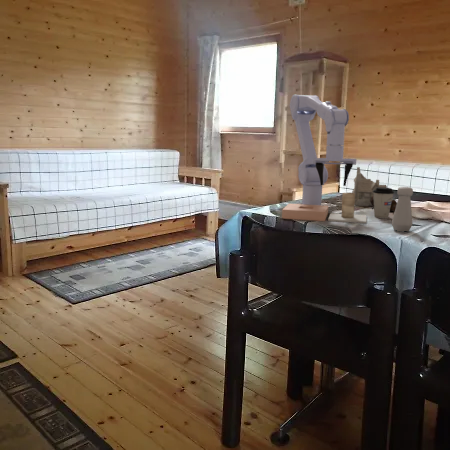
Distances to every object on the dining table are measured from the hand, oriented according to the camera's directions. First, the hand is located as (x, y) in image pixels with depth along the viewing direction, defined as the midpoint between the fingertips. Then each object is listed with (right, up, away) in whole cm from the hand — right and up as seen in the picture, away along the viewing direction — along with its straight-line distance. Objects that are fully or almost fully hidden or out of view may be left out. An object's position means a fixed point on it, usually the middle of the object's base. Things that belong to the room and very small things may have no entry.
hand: (333, 185), depth 160 cm
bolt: (+24, -8, +16) cm, 30 cm away
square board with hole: (-10, -11, -1) cm, 14 cm away
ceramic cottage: (+22, -5, +31) cm, 38 cm away
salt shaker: (+15, -16, -22) cm, 31 cm away
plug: (+4, -11, -5) cm, 13 cm away
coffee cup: (+17, -11, 0) cm, 20 cm away
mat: (+4, -12, -5) cm, 13 cm away
